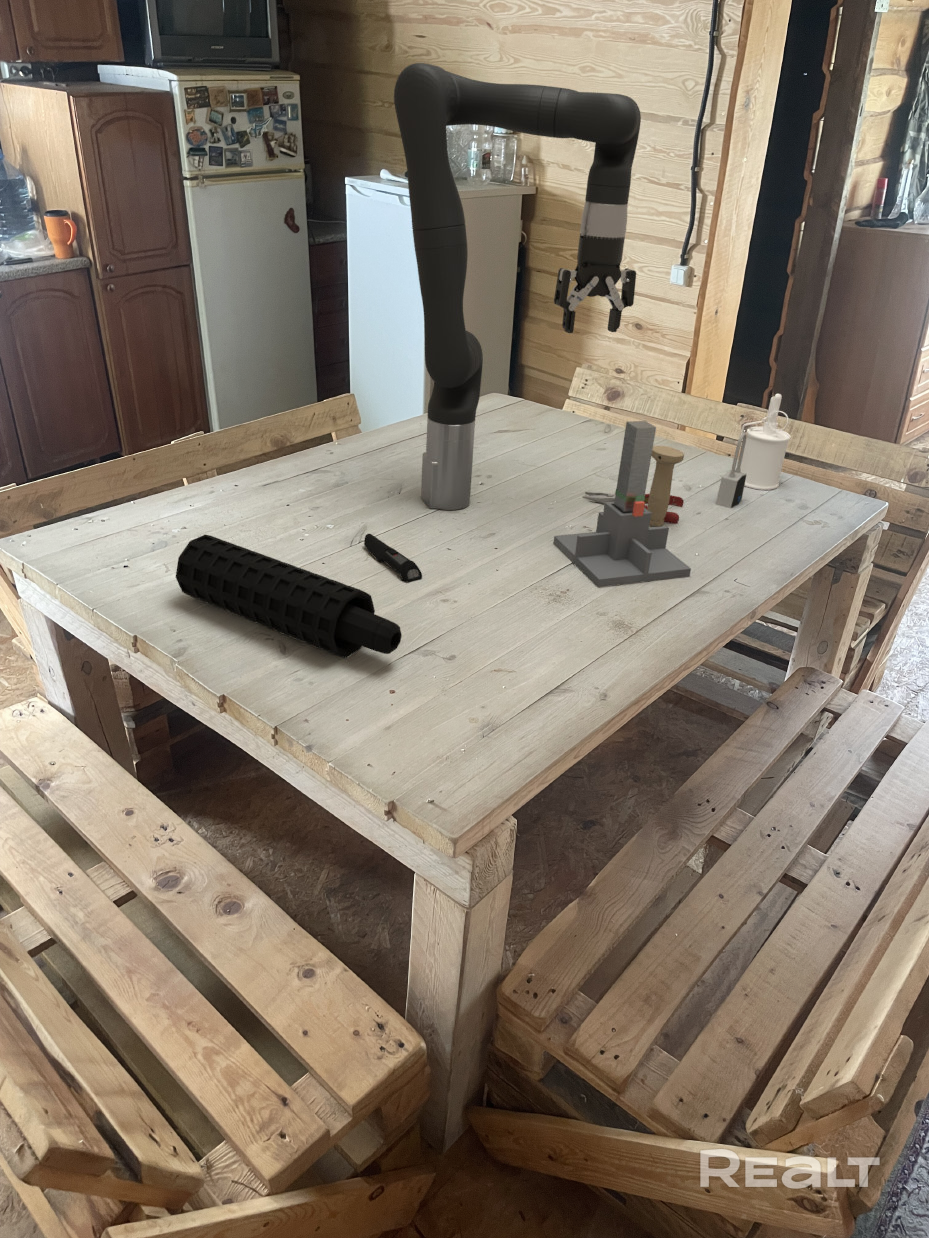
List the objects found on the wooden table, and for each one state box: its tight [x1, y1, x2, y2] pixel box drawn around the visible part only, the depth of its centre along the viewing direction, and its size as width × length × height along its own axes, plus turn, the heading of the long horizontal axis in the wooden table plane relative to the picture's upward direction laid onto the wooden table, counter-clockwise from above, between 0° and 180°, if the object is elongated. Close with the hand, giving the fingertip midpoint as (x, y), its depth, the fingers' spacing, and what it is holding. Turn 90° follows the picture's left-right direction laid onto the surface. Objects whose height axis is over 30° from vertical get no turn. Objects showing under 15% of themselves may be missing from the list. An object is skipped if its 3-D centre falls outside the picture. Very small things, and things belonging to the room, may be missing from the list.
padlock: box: [715, 432, 747, 509], centre depth 187 cm, size 7×4×15 cm, turn 145°
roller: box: [175, 534, 403, 659], centre depth 132 cm, size 38×10×10 cm, turn 58°
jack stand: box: [553, 501, 692, 588], centre depth 159 cm, size 18×18×12 cm
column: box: [614, 420, 657, 514], centre depth 154 cm, size 4×4×17 cm
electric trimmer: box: [363, 533, 423, 584], centre depth 155 cm, size 4×16×3 cm, turn 35°
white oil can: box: [739, 393, 792, 491], centre depth 197 cm, size 10×9×20 cm
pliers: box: [582, 491, 684, 525], centre depth 184 cm, size 12×20×3 cm, turn 72°
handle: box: [647, 445, 685, 527], centre depth 174 cm, size 5×6×15 cm
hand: (590, 331), depth 158 cm, fingers open, 8 cm apart
